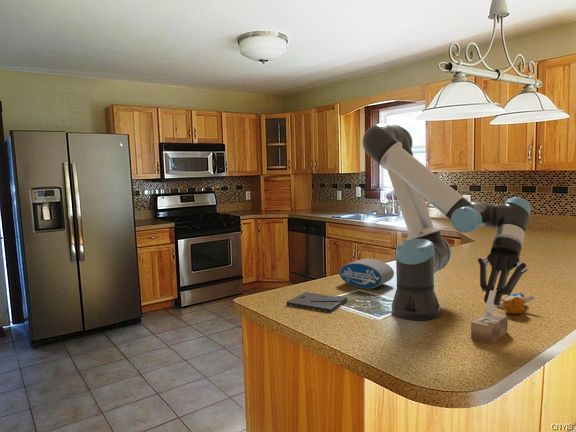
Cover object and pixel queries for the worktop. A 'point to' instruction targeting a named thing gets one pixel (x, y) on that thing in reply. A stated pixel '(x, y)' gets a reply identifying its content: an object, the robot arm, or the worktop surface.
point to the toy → (515, 303)
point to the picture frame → (317, 301)
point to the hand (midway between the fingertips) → (488, 313)
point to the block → (489, 328)
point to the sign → (366, 273)
